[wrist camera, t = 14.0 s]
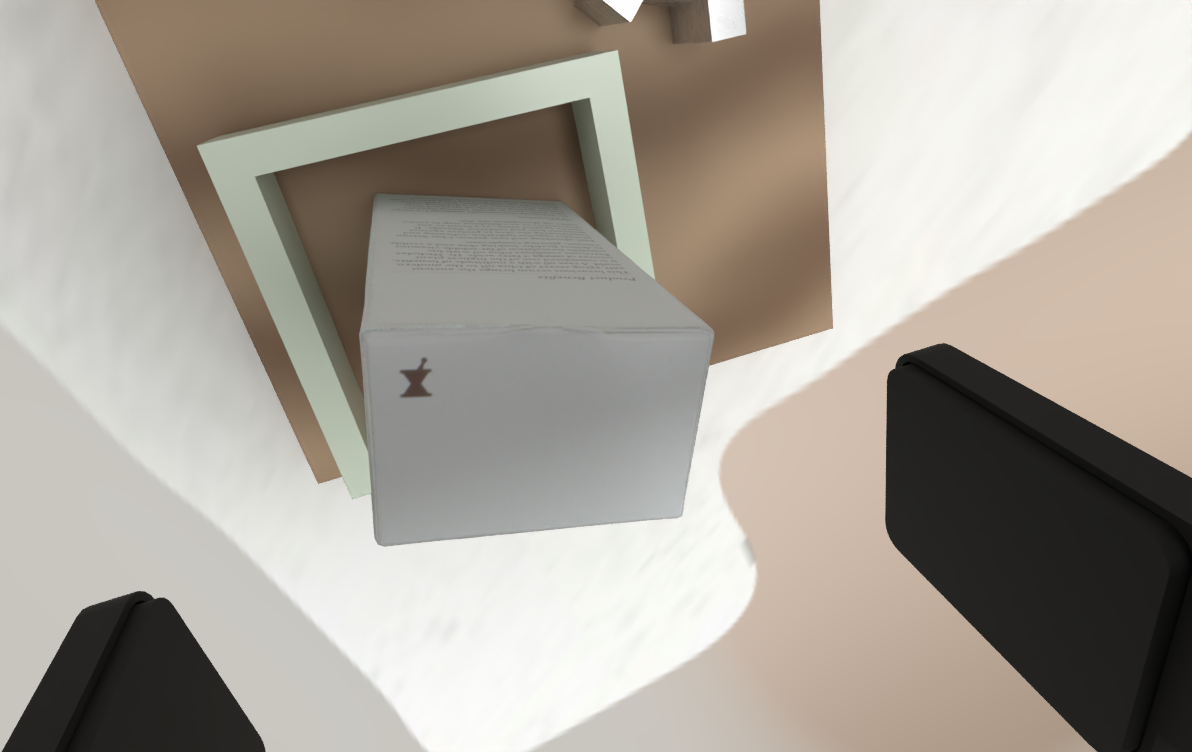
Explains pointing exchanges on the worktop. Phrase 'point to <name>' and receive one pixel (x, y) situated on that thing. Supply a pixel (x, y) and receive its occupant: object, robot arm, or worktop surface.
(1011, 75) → the worktop surface
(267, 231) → the green square frame
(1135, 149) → the worktop surface
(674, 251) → the carrier plate
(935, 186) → the worktop surface
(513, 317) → the skincare box
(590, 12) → the sun gear
